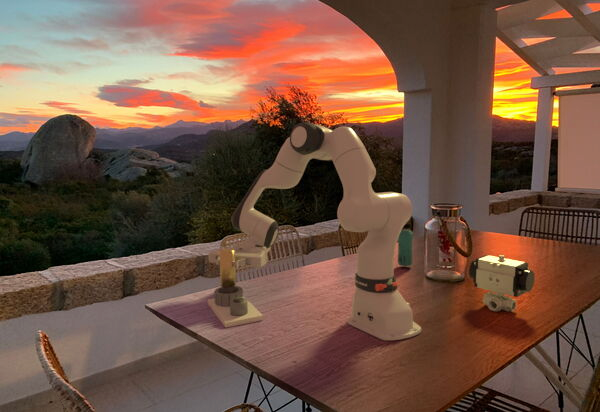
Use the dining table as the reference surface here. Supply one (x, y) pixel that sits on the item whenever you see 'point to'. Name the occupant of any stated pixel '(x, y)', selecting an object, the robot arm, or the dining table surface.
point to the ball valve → (501, 280)
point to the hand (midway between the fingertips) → (226, 263)
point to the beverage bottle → (405, 246)
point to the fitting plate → (235, 319)
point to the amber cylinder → (227, 268)
